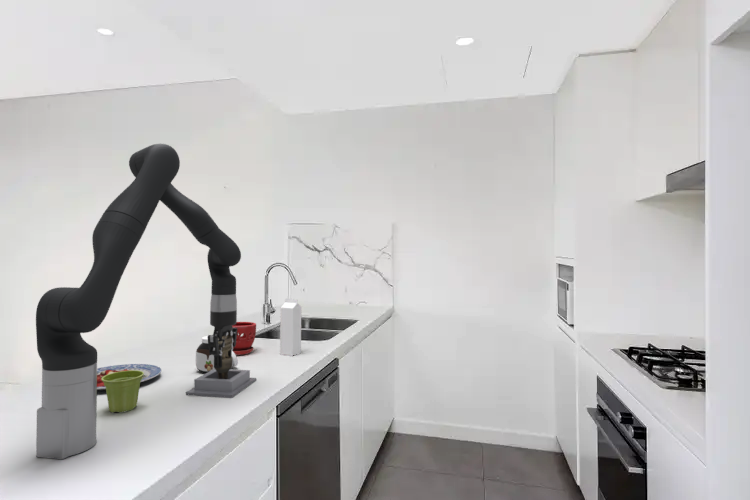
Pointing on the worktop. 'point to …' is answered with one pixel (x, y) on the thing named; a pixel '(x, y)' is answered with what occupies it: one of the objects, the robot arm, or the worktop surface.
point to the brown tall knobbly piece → (225, 358)
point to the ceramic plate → (148, 370)
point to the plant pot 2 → (244, 337)
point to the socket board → (221, 384)
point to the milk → (290, 328)
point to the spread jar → (208, 357)
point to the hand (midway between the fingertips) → (222, 365)
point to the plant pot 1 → (122, 389)
